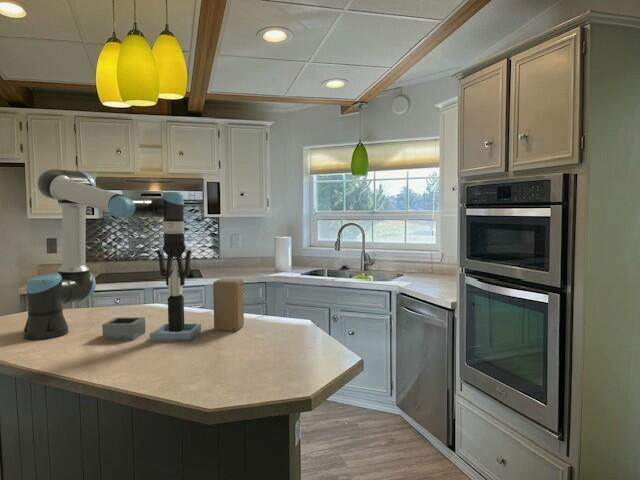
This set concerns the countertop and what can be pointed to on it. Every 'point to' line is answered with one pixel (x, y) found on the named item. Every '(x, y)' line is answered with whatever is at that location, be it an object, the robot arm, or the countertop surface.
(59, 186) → the robot arm
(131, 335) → the collar
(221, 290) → the wooden block
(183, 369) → the countertop surface
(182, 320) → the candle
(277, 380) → the countertop surface
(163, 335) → the tray
